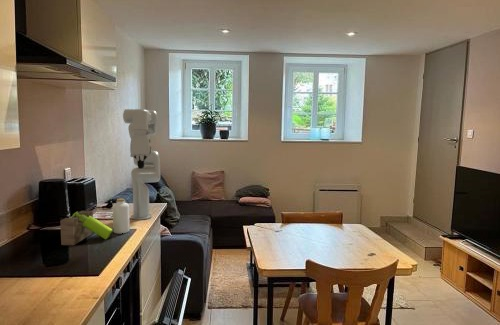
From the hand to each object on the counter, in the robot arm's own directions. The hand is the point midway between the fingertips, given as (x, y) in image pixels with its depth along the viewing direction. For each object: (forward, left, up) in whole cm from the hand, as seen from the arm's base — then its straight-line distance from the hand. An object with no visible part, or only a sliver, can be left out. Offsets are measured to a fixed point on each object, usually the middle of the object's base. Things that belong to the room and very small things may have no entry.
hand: (141, 168), depth 188 cm
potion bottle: (-2, -12, -35) cm, 37 cm away
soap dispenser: (+11, -13, -33) cm, 37 cm away
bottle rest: (+11, -29, -35) cm, 47 cm away
